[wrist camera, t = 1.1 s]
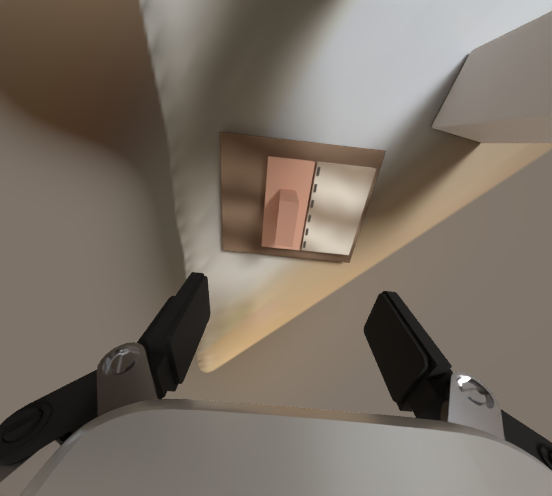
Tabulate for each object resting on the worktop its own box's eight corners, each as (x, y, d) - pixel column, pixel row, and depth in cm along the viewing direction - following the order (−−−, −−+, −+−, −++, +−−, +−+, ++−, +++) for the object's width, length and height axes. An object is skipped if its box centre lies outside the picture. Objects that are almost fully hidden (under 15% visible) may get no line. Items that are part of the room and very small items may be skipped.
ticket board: (223, 132, 25) (216, 131, 22) (380, 150, 25) (391, 151, 23) (225, 245, 32) (220, 254, 30) (346, 257, 33) (351, 267, 30)
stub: (268, 155, 24) (264, 160, 18) (313, 161, 24) (324, 167, 18) (262, 242, 30) (256, 269, 24) (298, 246, 30) (303, 274, 24)
